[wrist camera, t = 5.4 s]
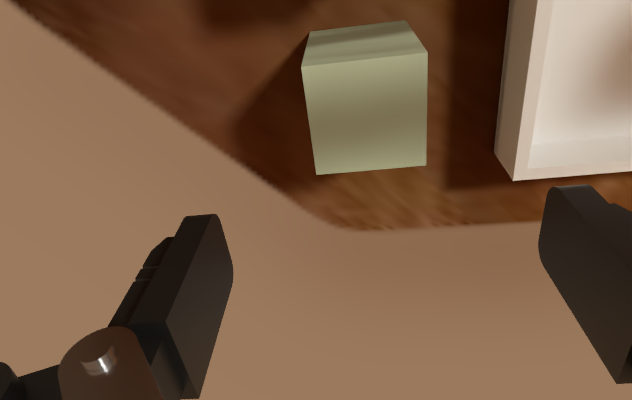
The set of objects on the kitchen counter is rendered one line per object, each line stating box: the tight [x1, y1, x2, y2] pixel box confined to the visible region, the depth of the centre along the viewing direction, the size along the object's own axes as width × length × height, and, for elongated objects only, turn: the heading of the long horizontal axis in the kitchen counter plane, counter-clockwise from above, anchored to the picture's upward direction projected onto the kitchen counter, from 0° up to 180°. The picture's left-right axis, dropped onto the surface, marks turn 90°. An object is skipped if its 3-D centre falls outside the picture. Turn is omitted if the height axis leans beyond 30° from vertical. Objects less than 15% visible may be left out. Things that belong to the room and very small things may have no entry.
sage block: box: [301, 20, 428, 175], centre depth 19 cm, size 4×4×6 cm
